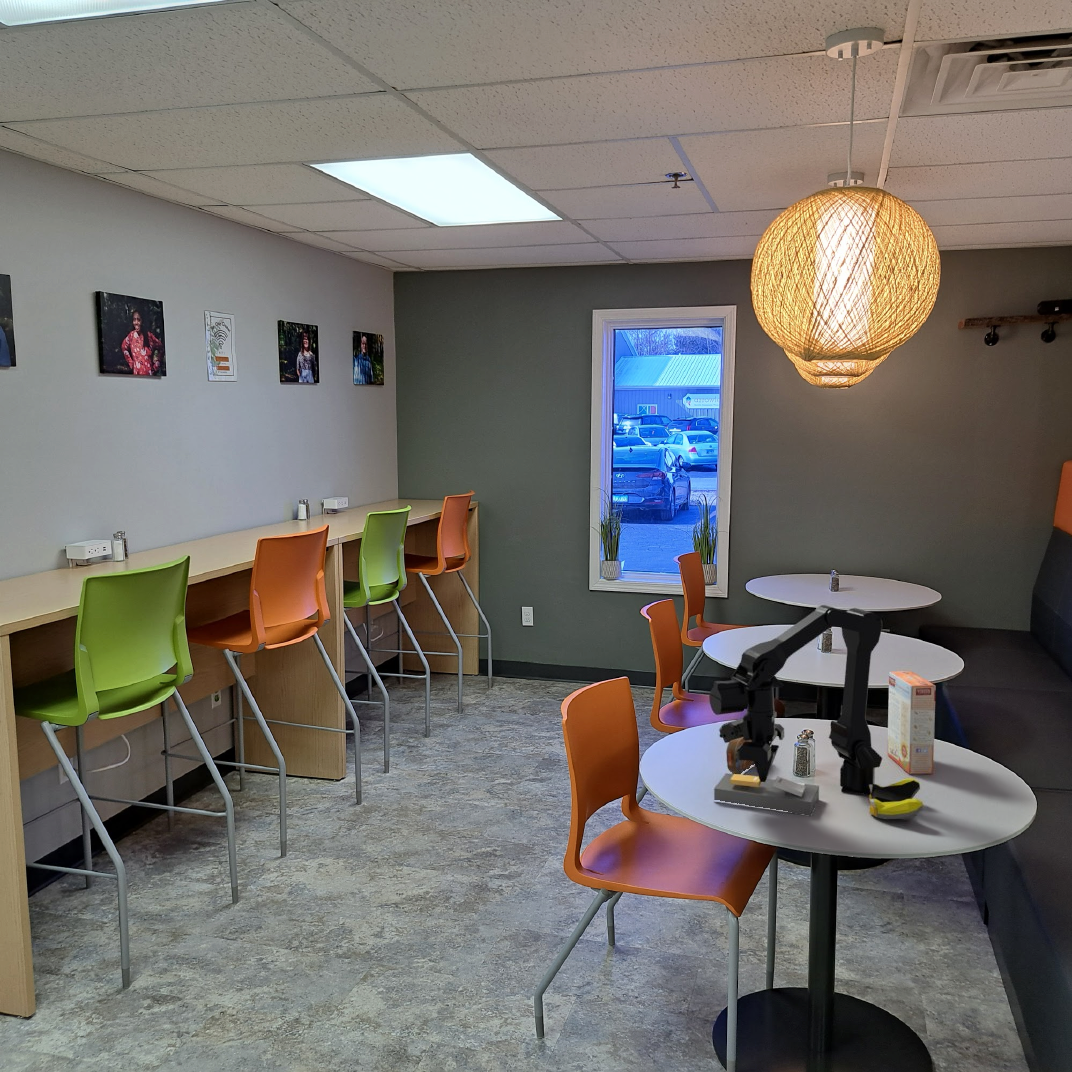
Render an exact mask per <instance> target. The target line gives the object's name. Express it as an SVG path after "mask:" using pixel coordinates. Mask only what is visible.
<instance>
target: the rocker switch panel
mask: <svg viewBox="0 0 1072 1072" xmlns="http://www.w3.org/2000/svg"><path fill="white" fill-rule="evenodd" d="M734 774H735V773H725V774H724V775H723V777H722V778H721V779H720V780H719V782H718V783H717V784H716V785H715V787H714V789H713V791H714V792H713V794H714V795H713V797H714V799H713V800H720V801H725V802H731V803H737V804H738V803H739V804H745V805H749V806H755V807H763V808H770V809H776V810H783V811H788V812H792V813H797V814H796V815H798V814H804V815H809V816H808V817H812V815H813V813H814V811H815V809H814V808H816V806H817V804H818V803H819V801H820V785H815V784H809V783H803V782H795V783H797V784H800V785H803V786H805V791H804V793H803V795H802V796H801V797H800V796H798V795H795V794H792V793H790V792H787V791H785V790H782V789H779V788H777V787H774V786H773V783H774V781H775V779H773V778H772V779H771V778H767V780H766V781H765V782H762V783H761V784H760V786H759V787H753V786H744V785H735V784H730V779H731V778H732V776H733V775H734ZM813 810H814V811H813ZM804 815H803V816H804Z"/></svg>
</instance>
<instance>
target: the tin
mask: <svg viewBox="0 0 1072 1072" xmlns="http://www.w3.org/2000/svg"><path fill="white" fill-rule="evenodd" d="M745 741H746V742H752V741H751V740H749V741H748V740H743V737H741V738H738V739H735V740H731V741H730V742H728V744H727V746H726V764H727V766H726V767H727V769H728V771H729V772H730V773H731V772H732V773H731V774H735V773H737V774H741V773H742V772H743V771H745V770H746V769H749V768H750V766H751V765H754V761H746V760H739V759H737V750H738V748H739V747H740V746H741V745H742V744H743V743H744V742H745Z"/></svg>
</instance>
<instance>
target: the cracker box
mask: <svg viewBox="0 0 1072 1072" xmlns="http://www.w3.org/2000/svg"><path fill="white" fill-rule="evenodd" d="M887 712H888V713H887V714H888V717H887V718H888V719H887V756H888V757H889V758H891V760H892V761H894V762H895V763H896V764H897V765H898V766H900V767H901V768H902V769H903V770H904V771H905V772H906V773H907V774H909V775H933V774H934V758H935V757H934V752H935V749H934V747H935V717H936V716H935V715H936V713H935V712H936V685H935V684H933V683H932V682H930V681H928V680H927V679H925V678H923V677H922V676H920V675H919V674H917V673H915V672H914V671H909V670H908V671H907V670H905V671H904V670H903V671H901V670H900V671H889V673H888V711H887Z"/></svg>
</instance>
